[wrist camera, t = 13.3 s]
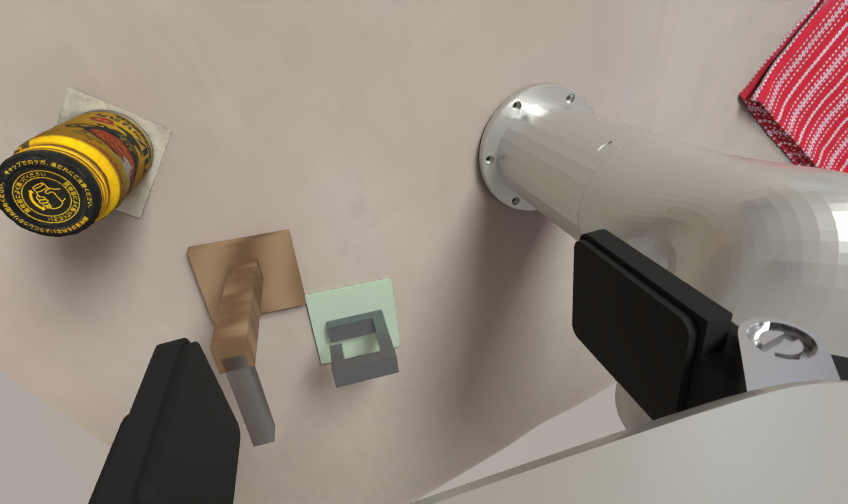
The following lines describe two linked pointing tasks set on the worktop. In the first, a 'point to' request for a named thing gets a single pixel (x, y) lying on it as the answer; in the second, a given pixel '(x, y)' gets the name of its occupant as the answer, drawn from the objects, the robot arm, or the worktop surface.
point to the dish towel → (807, 89)
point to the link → (365, 364)
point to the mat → (351, 304)
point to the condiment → (82, 168)
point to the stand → (246, 310)
